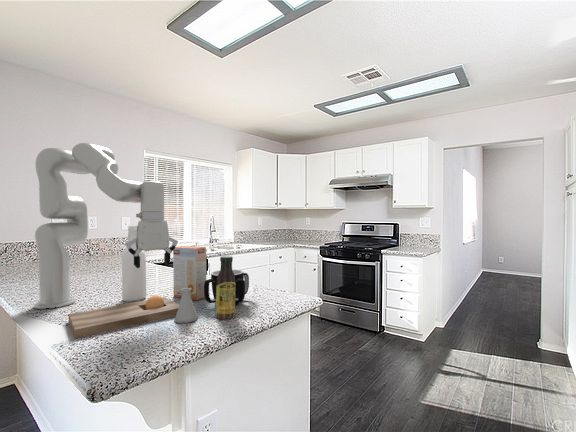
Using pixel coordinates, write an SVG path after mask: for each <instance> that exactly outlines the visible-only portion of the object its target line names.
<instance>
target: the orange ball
mask: <svg viewBox="0 0 576 432" xmlns="http://www.w3.org/2000/svg"><path fill="white" fill-rule="evenodd" d="M162 297H163V296H161V295H158V294H156V295H151V296H149V297H148V298H147V299H146V300H147V301H146V309H147V310H149V309H154V308H159V307H164V300H163V298H162Z"/></svg>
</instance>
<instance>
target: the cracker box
mask: <svg viewBox="0 0 576 432" xmlns="http://www.w3.org/2000/svg"><path fill="white" fill-rule="evenodd" d="M172 255H173V256H172V261H173V262H172V265H173V266H172V268H173V297H175V298H180V299H181V296H182V293H181V291H180V290H181V289H183V288H191V291H190V295H191V300H192V301H199V300H203V299H205V296H204V283H205V281H206V280H207V247H206V246H203V247H202V246H192V245H190V246H189V245H181V246H176V247H175V249H174V250H173V251H172Z"/></svg>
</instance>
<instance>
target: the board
mask: <svg viewBox="0 0 576 432" xmlns="http://www.w3.org/2000/svg"><path fill="white" fill-rule="evenodd" d="M161 297H162V298H163V300H164V307H159V308H154V309H149V310H147V309H146V301H147V300H148V299H146V300H145V299H144V300H140V301H134V302H127V303H123V304H117V305H113V306H112V305H111V306H106V307H101V308H95V309H90V310H83V311H78V312H72V313H68V323H69V326H70V330H71V331H72V335H73V336H74V339H79V338H84V337H89V336H92V335H97V334H101V333H106V332H110V331H115V330H120V329H123V328H128V327H132V326H138V325H142V324H146V323H150V322H151V323H152V322H156V321H161V320H165V319H168V318H172V317H173V318H175V317H176V314H177V311H178V308H179V305H180V304H178V303H175V302H174V301H172V300H170V299H169V298H167V297H165V296H161Z"/></svg>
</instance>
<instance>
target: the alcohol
mask: <svg viewBox="0 0 576 432" xmlns="http://www.w3.org/2000/svg"><path fill="white" fill-rule="evenodd" d="M137 226H138V224H137V225H128V226H127V227H128V229H127V230H128V231H127V233H128V234H127V242H129V241H131V240H132V239H134V238H136V234H137ZM131 248H132V249H133V250H134V251H135V250H136V243H134V244H132V245H131ZM139 256H140V268H136V267H135V266H134V255H132V254H131V253H130V252H129V251H128V249H127V248H126V249H124V251H123V252H122V255H121V295H122V297H121V298H122V301H124V302H125V303H134V302H139V301H144V300H145V299H146V297H147V255H146V252H145V250H142V251H141V252H140V254H139Z"/></svg>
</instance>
